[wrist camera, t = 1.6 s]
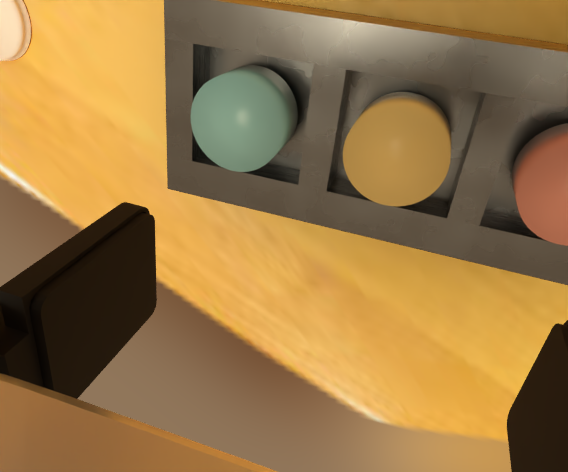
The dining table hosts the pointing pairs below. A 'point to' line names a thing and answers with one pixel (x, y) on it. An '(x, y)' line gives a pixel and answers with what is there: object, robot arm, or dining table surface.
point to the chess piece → (13, 29)
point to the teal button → (244, 117)
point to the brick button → (544, 184)
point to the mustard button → (398, 149)
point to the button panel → (348, 107)
